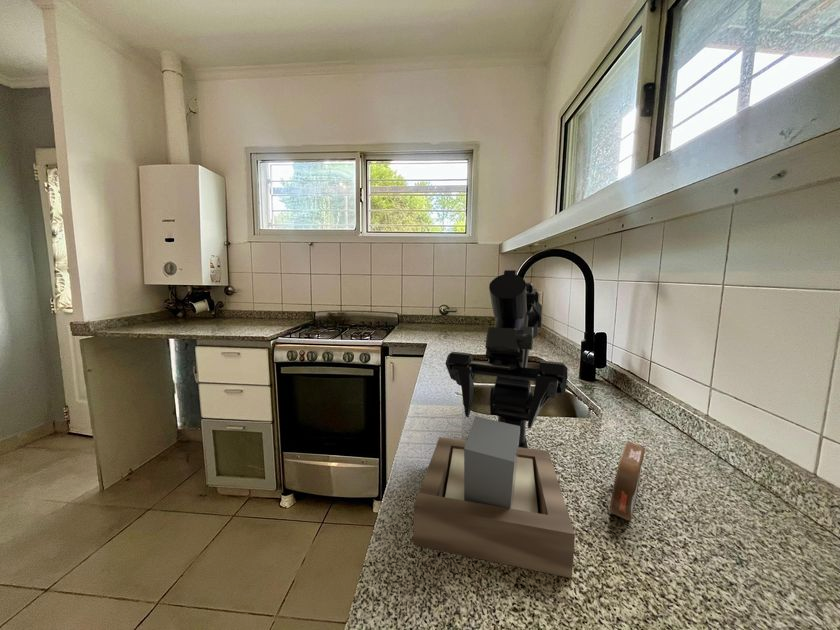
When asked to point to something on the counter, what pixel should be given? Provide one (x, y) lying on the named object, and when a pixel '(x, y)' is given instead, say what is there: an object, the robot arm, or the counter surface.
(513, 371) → the robot arm
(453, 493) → the trapdoor plate
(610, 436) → the counter surface
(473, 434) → the grey rectangular block
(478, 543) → the frame
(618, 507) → the tin
